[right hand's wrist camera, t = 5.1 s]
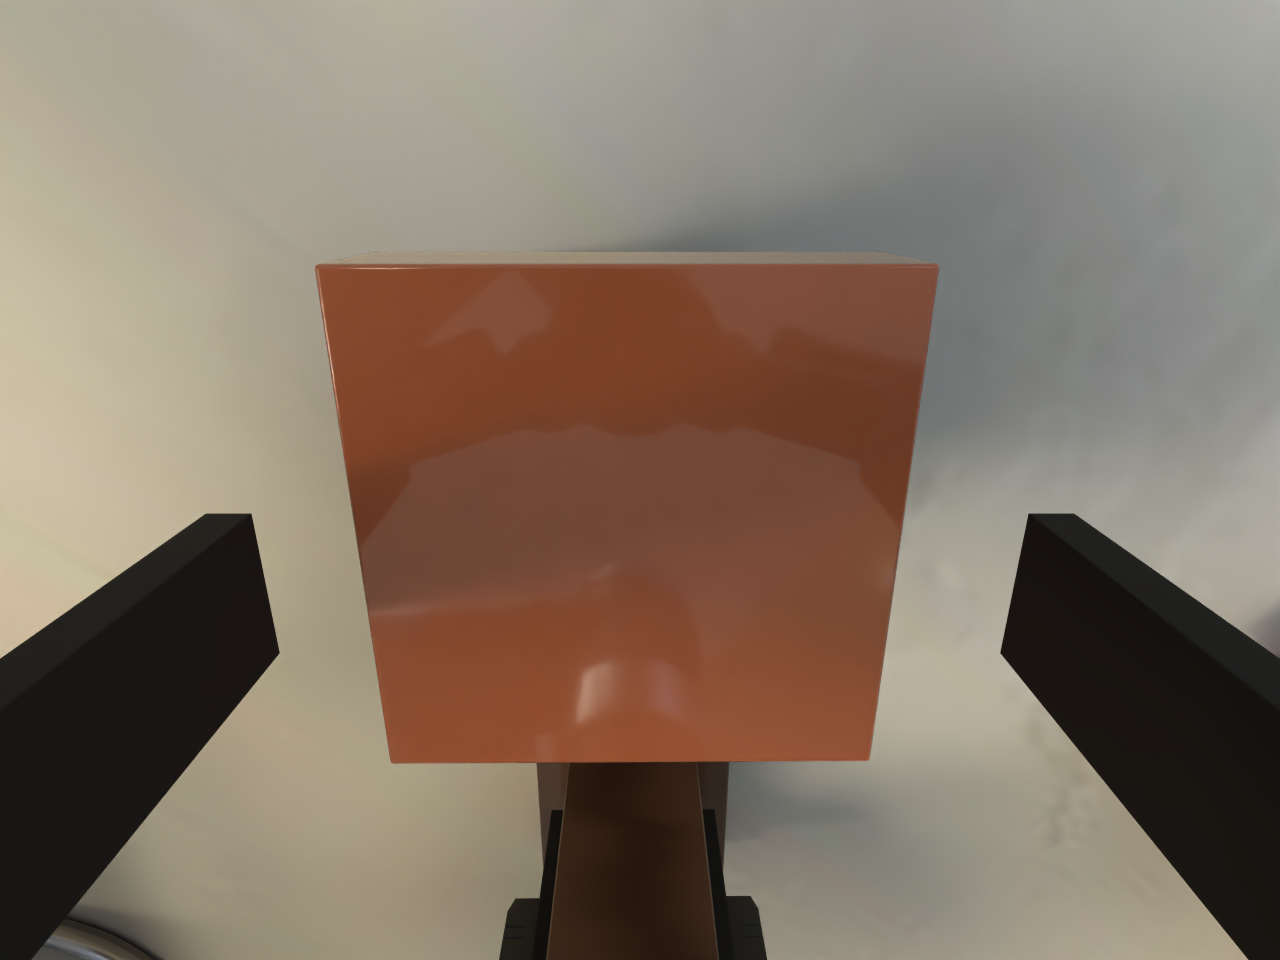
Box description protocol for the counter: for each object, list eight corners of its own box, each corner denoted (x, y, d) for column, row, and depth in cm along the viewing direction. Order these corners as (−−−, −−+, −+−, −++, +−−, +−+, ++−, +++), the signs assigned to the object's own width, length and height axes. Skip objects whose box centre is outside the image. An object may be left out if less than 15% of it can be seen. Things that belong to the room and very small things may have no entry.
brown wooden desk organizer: (547, 845, 34) (507, 1145, 23) (512, 262, 25) (417, 310, 14) (719, 844, 34) (759, 1143, 23) (750, 262, 25) (839, 310, 14)
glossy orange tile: (439, 649, 19) (389, 765, 15) (393, 248, 15) (312, 264, 12) (821, 647, 19) (870, 762, 15) (863, 247, 16) (941, 263, 12)
